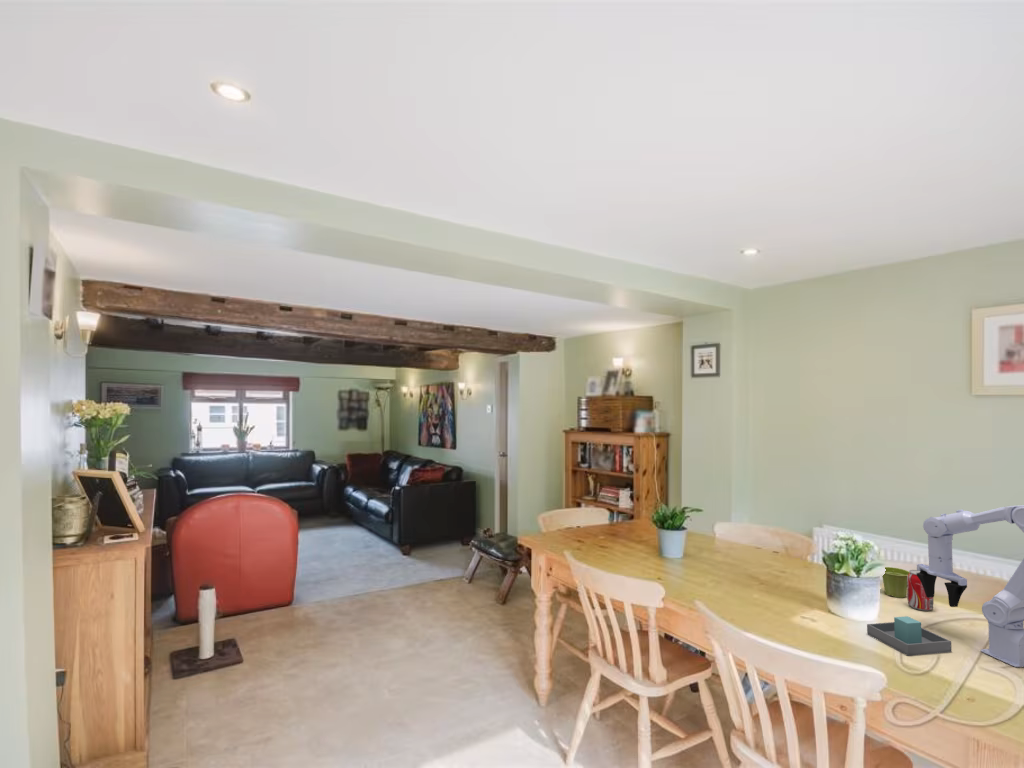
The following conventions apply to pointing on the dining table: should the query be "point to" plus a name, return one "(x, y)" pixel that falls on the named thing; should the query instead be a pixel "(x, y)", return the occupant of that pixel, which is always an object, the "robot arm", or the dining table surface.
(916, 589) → the soda can
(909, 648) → the tray
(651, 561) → the dining table surface
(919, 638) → the teal block
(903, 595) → the plant pot
